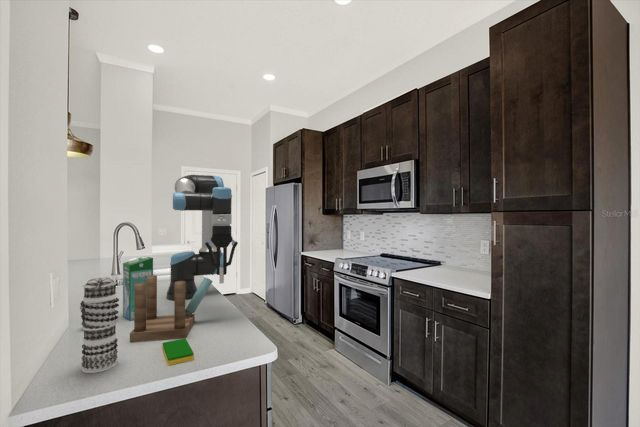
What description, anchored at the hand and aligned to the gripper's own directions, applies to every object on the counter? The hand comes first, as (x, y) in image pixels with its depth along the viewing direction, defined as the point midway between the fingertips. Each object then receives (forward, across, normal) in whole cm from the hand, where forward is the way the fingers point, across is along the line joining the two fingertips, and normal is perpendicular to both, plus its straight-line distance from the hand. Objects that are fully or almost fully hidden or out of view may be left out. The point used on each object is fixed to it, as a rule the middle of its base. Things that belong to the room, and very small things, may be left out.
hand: (221, 282), depth 130 cm
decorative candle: (+16, -31, -32) cm, 48 cm away
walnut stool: (+16, -20, -6) cm, 26 cm away
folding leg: (+11, -12, 0) cm, 16 cm away
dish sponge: (+16, -11, -29) cm, 35 cm away
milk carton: (+16, -36, +15) cm, 42 cm away
